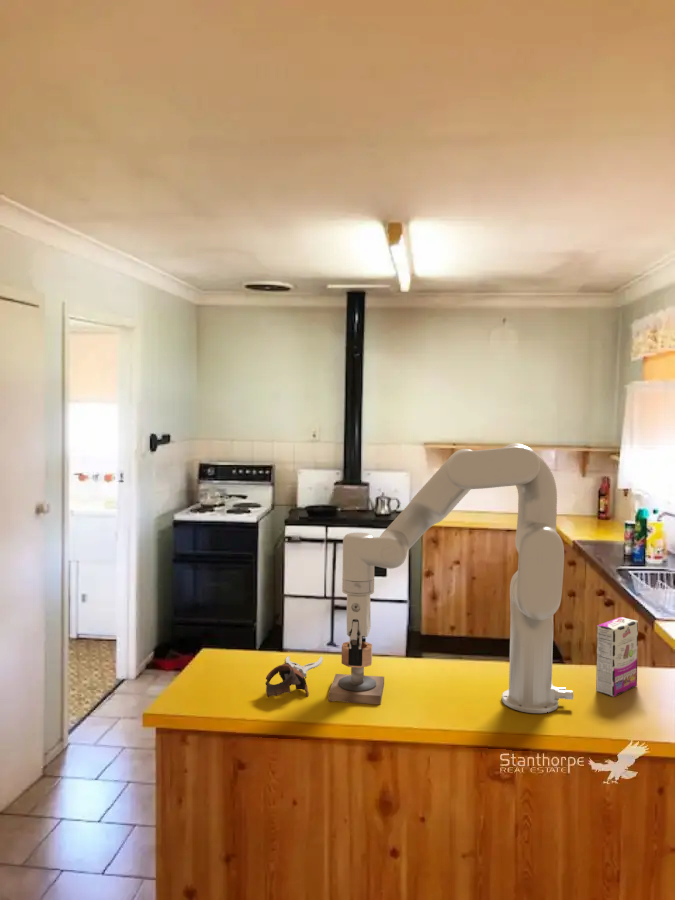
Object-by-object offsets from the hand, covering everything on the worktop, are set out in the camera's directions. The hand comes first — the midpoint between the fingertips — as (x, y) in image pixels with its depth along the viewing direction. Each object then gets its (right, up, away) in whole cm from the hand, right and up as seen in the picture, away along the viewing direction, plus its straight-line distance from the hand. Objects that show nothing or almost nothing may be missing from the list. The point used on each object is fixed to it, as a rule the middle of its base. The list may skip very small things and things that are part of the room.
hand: (357, 659), depth 171 cm
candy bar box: (+63, -9, +4) cm, 64 cm away
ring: (0, -1, 0) cm, 1 cm away
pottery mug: (-16, -8, -1) cm, 19 cm away
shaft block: (0, -8, 0) cm, 8 cm away
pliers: (-14, -8, +17) cm, 23 cm away
